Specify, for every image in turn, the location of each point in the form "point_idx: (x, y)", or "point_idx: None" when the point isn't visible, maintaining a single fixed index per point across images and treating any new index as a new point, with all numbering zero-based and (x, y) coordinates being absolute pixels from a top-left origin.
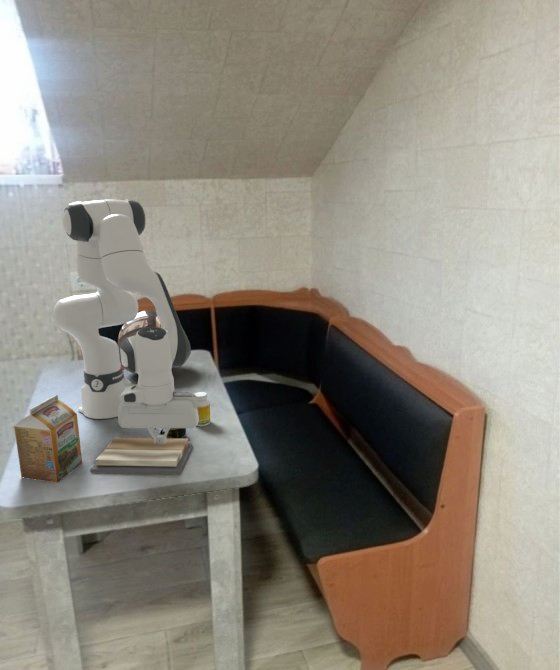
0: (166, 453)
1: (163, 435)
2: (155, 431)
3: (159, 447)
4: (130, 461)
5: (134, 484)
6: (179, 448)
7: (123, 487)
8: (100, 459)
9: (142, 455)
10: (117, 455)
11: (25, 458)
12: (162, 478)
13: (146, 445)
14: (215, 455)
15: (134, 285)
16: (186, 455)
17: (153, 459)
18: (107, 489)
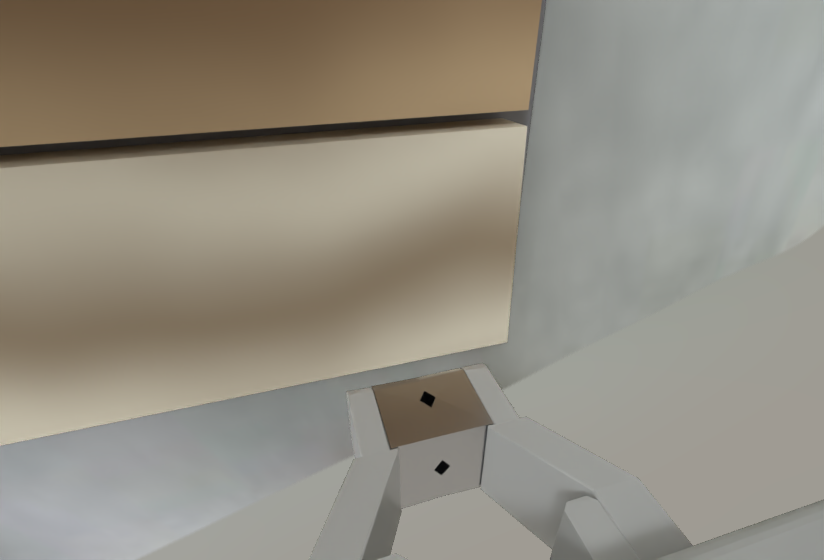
0: (395, 223)
1: (511, 512)
2: (381, 513)
3: (256, 73)
4: (119, 412)
5: (267, 459)
6: (494, 78)
7: (219, 495)
8: None
9: (170, 309)
10: None
11: None
12: (405, 375)
13: (15, 10)
14: (728, 13)
15: None
16: (532, 105)
17: (325, 360)
18: (135, 533)
